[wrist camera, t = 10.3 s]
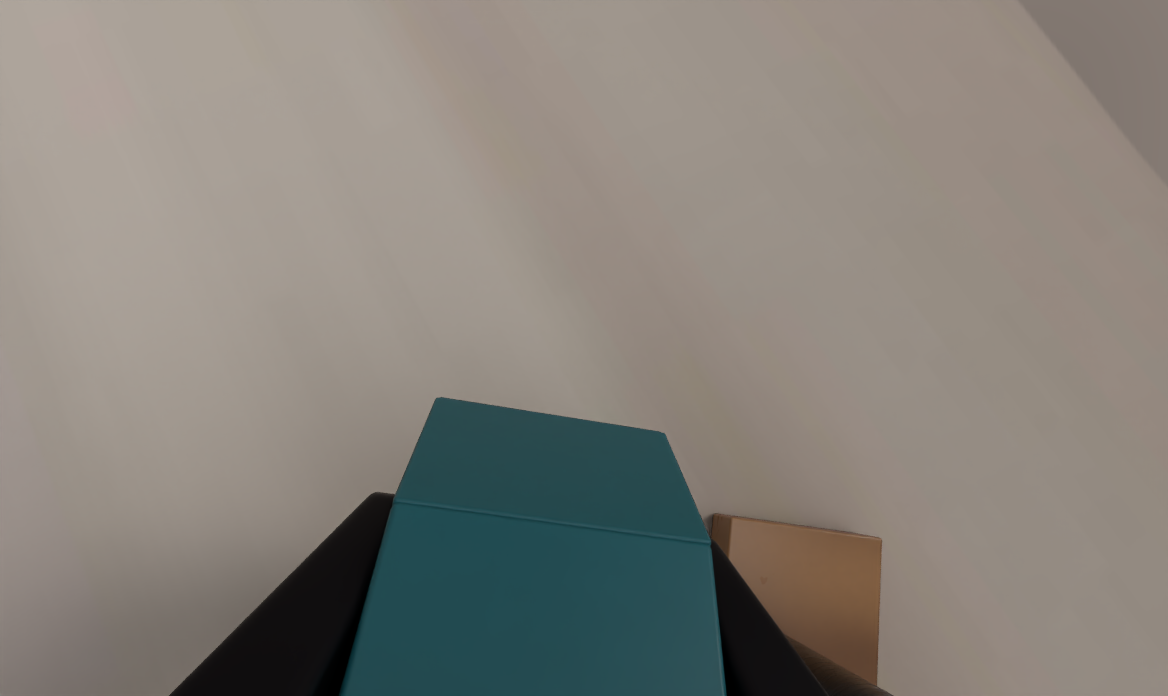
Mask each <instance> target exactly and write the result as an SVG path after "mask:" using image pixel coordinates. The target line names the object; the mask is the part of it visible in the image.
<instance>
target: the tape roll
mask: <svg viewBox="0 0 1168 696" xmlns="http://www.w3.org/2000/svg"><path fill="white" fill-rule="evenodd" d="M710 545H711V540H710V537H709V535H708V533H707V530H706V528H705V526H704V523H703V521H702V519H701V516H700V514H699V512H698V509H697V507H696V505H695V502H694V500H693V498H692V495H691V493H690V491H689V488H688V486H687V484H686V481H685V479H684V477H683V474H682V472H681V470H680V467H679V465H678V463H677V460H676V458H675V456H674V453H673V451H672V449H671V447H670V444H669V442H668V440H667V437H666V435H665V434H664V433H661V432H659V431H653V430H646V429H640V428H634V427H627V426H621V425H615V424H608V423H602V422H595V421H589V420H583V419H576V418H570V417H564V416H557V415H551V414H545V413H538V412H532V411H526V410H519V409H513V408H507V407H500V406H494V405H487V404H481V403H475V402H468V401H462V400H456V399H449V398H443V397H440V398H436V399H435V401H434V404H433V406H432V408H431V411H430V413H429V416H428V418H427V420H426V423H425V425H424V427H423V430H422V432H421V435H420V437H419V439H418V442H417V444H416V446H415V449H414V451H413V454H412V456H411V458H410V461H409V463H408V465H407V468H406V470H405V473H404V475H403V477H402V480H401V482H400V485H399V487H398V489H397V492H396V494H395V496H394V499H393V504H392V508H391V510H390V513H389V517H388V520H387V524H386V528H385V531H384V535H383V538H382V542H381V545H380V549H379V553H378V556H377V560H376V563H375V567H374V570H373V574H372V578H371V581H370V585H369V588H368V592H367V595H366V599H365V603H364V606H363V610H362V613H361V617H360V621H359V624H358V628H357V631H356V635H355V638H354V642H353V646H352V649H351V653H350V656H349V660H348V663H347V667H346V671H345V674H344V678H343V681H342V685H341V689H340V692H339V696H727V695H726V685H725V675H724V666H723V656H722V647H721V637H720V627H719V618H718V608H717V598H716V589H715V579H714V569H713V560H712V550H711V547H710Z"/></svg>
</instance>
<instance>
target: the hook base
mask: <svg viewBox="0 0 1168 696" xmlns="http://www.w3.org/2000/svg"><path fill="white" fill-rule="evenodd" d="M711 538H712V539H713V540H714V541H716V542H717V544H718V545H719V546H720V548H721V549H722V550H723V552H724V553H725V554H726V556H727V557H728V558H729V560H730V561H731V563H732V564H733V565H734V567H735V568H736V569H737V571H738V572H739V573H740V575H741V576H742V578H743V579H744V580H745V582H746V583H747V584H748V586H749V587H750V588H751V590H752V591H753V593H754V594H755V595H756V597H757V598H758V599H759V601H760V602H761V603H762V605H763V606H764V608H765V609H766V610H767V612H768V613H769V614H770V616H771V617H772V619H773V620H774V621H775V623H776V624H777V625H778V627H779V628H780V629H781V631H782V632H783V633H784V634H786V635H787V636H789V637H791V638H793V639H794V640H796V641H798V642H800V643H801V644H803V645H805V646H807V647H808V648H810V649H812V650H814V651H816V652H817V653H819V654H821V655H823V656H824V657H826V658H828V659H830V660H831V661H833V662H835V663H837V664H838V665H840V666H842V667H844V668H845V669H847V670H849V671H851V672H852V673H854V674H856V675H858V676H859V677H861V678H863V679H865V680H867V681H868V682H870V683H872V684H874V685H875V686H877V664H878V635H879V607H880V578H881V549H882V540H881V538H879V537H874V536H868V535H863V534H858V533H852V532H845V531H837V530H830V529H823V528H816V527H809V526H802V525H795V524H788V523H781V522H774V521H767V520H760V519H753V518H746V517H738V516H731V515H724V514H717V513H716V514H714V515H713V526H712V537H711Z"/></svg>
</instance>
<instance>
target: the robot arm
mask: <svg viewBox="0 0 1168 696" xmlns="http://www.w3.org/2000/svg"><path fill="white" fill-rule="evenodd" d="M394 496H395V494H388V493H381V492H375V493H373V494H371V495H370V496H369V497H367V498H366V499H365V500H364V501H363V502H362V503H361V504H360V505H359V506H358V507H357V508H356V509H355V510H354V511H353V512H352V513H351V514H350V515H349V516H348V517H347V518H346V519H345V520H344V521H343V522H342V523H341V524H340V525H339V526H338V527H337V528H336V529H335V530H334V531H333V532H332V533H331V534H330V535H329V536H328V537H327V538H326V539H325V540H324V541H323V542H322V543H321V544H320V545H319V546H318V547H317V548H316V549H315V550H314V551H313V552H312V553H311V554H310V555H309V556H308V557H307V558H306V559H305V560H304V561H303V562H302V563H301V564H300V565H299V566H298V567H297V568H296V569H295V570H294V571H293V572H292V573H291V574H290V575H289V576H288V577H287V578H286V579H285V580H284V581H283V582H282V583H281V584H280V585H279V586H278V587H277V588H276V589H275V590H274V591H273V592H272V593H271V594H270V595H269V596H268V597H267V598H266V599H265V600H264V601H263V602H262V603H261V604H260V605H259V606H258V607H257V608H256V609H255V610H254V611H253V612H252V613H251V614H250V615H249V616H248V617H247V618H246V619H245V620H244V621H243V622H242V623H241V624H240V625H239V626H238V627H237V628H236V629H235V630H234V631H233V632H232V633H231V634H230V635H229V636H228V637H227V638H226V639H225V640H224V641H223V642H222V643H221V644H220V645H219V646H218V647H217V648H216V649H215V650H214V651H213V652H212V653H211V654H210V655H209V656H208V657H207V658H206V659H205V660H204V661H203V662H202V663H201V664H200V665H199V666H198V667H197V668H196V669H195V670H194V671H193V672H192V673H191V674H190V675H189V676H188V677H187V678H186V679H185V680H184V681H183V682H182V683H181V684H180V685H179V686H178V687H177V688H176V689H175V690H174V691H173V692H172V693H171V694H170V695H169V696H339V692H340V689H341V685H342V681H343V678H344V674H345V671H346V667H347V663H348V660H349V656H350V653H351V649H352V646H353V642H354V638H355V635H356V631H357V628H358V624H359V621H360V617H361V613H362V610H363V606H364V603H365V599H366V595H367V592H368V588H369V585H370V581H371V578H372V574H373V570H374V567H375V563H376V560H377V556H378V553H379V549H380V545H381V542H382V538H383V535H384V531H385V528H386V524H387V520H388V517H389V513H390V510H391V508H392V504H393V499H394ZM710 540H711V545H710V547H711V550H712V560H713V569H714V579H715V589H716V598H717V608H718V618H719V627H720V637H721V647H722V656H723V666H724V675H725V685H726V695H727V696H829V695H828V694H827V692H826V691H825V690H824V688H823V687H822V685H821V684H820V683H819V681H818V680H817V679H816V677H815V676H814V674H813V673H812V672H811V670H810V669H809V668H808V666H807V665H806V664H805V662H804V661H803V659H802V658H801V657H800V655H799V654H798V653H797V651H796V650H795V649H794V647H793V646H792V644H791V643H790V642H789V640H788V639H787V638H786V636H785V635H784V634H783V632H782V631H781V629H780V628H779V627H778V625H777V624H776V623H775V621H774V620H773V619H772V617H771V616H770V614H769V613H768V612H767V610H766V609H765V608H764V606H763V605H762V603H761V602H760V601H759V599H758V598H757V597H756V595H755V594H754V593H753V591H752V590H751V588H750V587H749V586H748V584H747V583H746V582H745V580H744V579H743V578H742V576H741V575H740V573H739V572H738V571H737V569H736V568H735V567H734V565H733V564H732V563H731V561H730V560H729V558H728V557H727V556H726V554H725V553H724V552H723V550H722V549H721V548H720V546H719V545H718V544H717V542H716V541H714V540H713V539H712V538H710Z"/></svg>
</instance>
